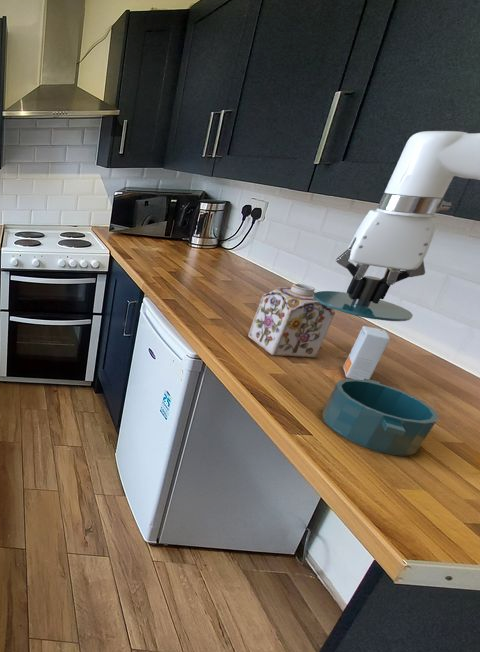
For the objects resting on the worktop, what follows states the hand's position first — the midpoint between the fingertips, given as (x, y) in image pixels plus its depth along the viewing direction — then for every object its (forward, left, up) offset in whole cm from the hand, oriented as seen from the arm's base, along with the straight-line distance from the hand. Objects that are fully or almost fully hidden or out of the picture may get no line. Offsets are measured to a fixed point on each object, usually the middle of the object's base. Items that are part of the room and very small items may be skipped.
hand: (362, 298), depth 80 cm
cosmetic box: (-9, -17, -24) cm, 30 cm away
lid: (0, 0, -2) cm, 2 cm away
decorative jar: (+6, -24, -24) cm, 34 cm away
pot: (-7, +10, -23) cm, 26 cm away
